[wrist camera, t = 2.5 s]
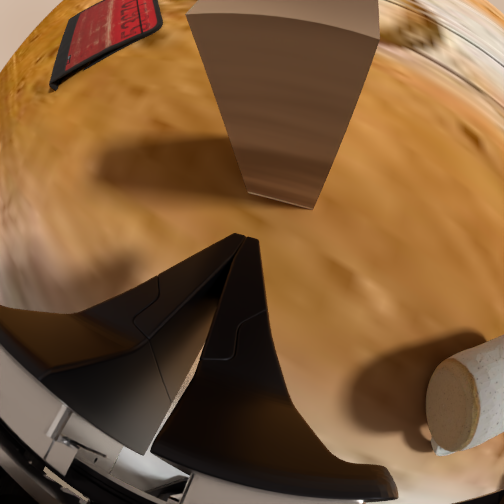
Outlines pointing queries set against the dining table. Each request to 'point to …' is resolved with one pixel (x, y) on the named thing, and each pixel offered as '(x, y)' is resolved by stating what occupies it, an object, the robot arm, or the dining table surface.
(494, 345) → the ceramic mug
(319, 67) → the walnut block
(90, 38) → the binder
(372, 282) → the dining table surface
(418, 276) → the dining table surface
